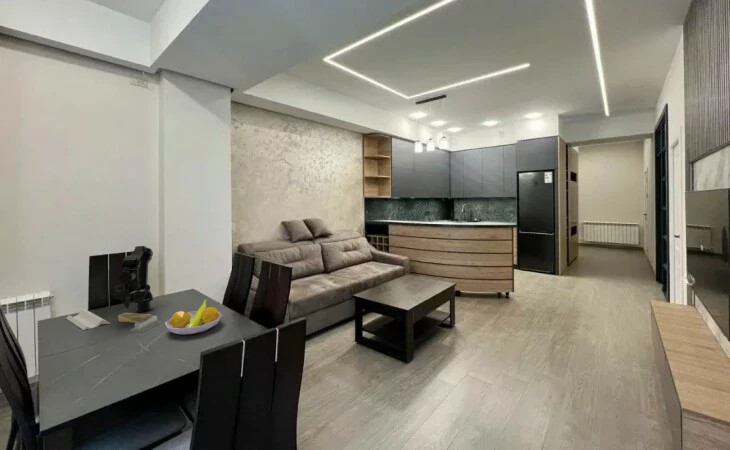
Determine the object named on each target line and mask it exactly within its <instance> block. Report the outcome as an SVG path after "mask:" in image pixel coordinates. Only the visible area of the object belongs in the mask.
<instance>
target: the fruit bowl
mask: <svg viewBox="0 0 730 450" xmlns="http://www.w3.org/2000/svg"><path fill="white" fill-rule="evenodd" d="M222 316H223V314H222V313H221V312H220V311H219V310H218V308H216V307H214V306H211V307H210V306H209V307H207V299H204V301H203V303H202V305H201V306H200V307H199V308H198V310H195V311H187V312H185V311H183V310H179V311H176V312H175V313H174V314H173V315H172V317H170V318H169V319H168V320H167V321H165V323H164V324H165V326H166V328H167V329H168V332H171V333H173V334H177V335H185V336H187V335H192V334H193V335H194V334H197V333H204V332H205V331H207V330H209V329H211V328H213V327H214V326H216V325H218V323H219V321H220V320H221V318H222Z"/></svg>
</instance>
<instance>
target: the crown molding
mask: <svg viewBox="0 0 730 450" xmlns="http://www.w3.org/2000/svg"><path fill="white" fill-rule="evenodd" d="M67 316H68V317H67ZM67 316H66V317H67V318H66V317H65V319H67V320H68V321H69V322H71V323H72V324H73V325H75V326H76V327H78V328H79V329H81V330H83V331H84V330H85V331H86V330H91V329H94V328H97V327H100V326H101V325H106V324H107V325H109V324H111V322H109V321H107V319H106V320H105V319H103V318H102V317H100V316H99V315H97V314H95V313H93V312H91V311H89V310H87V309H82V310H80V312H79V313H78V314H77V315H69V314H68V315H67ZM72 316H74V317H72Z"/></svg>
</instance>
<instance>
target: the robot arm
mask: <svg viewBox="0 0 730 450" xmlns="http://www.w3.org/2000/svg"><path fill="white" fill-rule="evenodd" d="M153 255H154V251H153V250H152V249H151V248H150V247H147V246H146V245H137V246H135V247H134V249H133V251H132V252H131V253H130V255H128V256H127V255H126V256H125V257H124V258H123V259H122V261H121V266H120V272H122V274H121V275H120V276H119V278H118V279H119V282H120V283H121V284H115V285H114V291H115V293H114V299H116V300H120V301H121V303H122V304H123V305H124V307H125V309H129V307H130V303H131V294H133V301H134V303H135V304H137V306H136V307H137V310H136V311H135V312H136V313H147V312H149V311H151V310H153V308H152V307H151V302H152V301H153V300H154V297H153V294H152V292H151V285H149V284H148V281H149V279H148V278H149V263H150V262H151V261H152V258H153Z"/></svg>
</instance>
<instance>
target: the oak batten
mask: <svg viewBox="0 0 730 450" xmlns="http://www.w3.org/2000/svg"><path fill="white" fill-rule="evenodd" d="M150 316H152V314H150V313H149V314H148V313H138V312H136V313H135V312H123V313H121V314H118V315H117V317H118V318H117V319H118V322H121V323H122V322H123V323H124V322H125V323H134V324H135V323H137V322H139V321H141V320H144V319H146V318H148V317H150Z"/></svg>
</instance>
